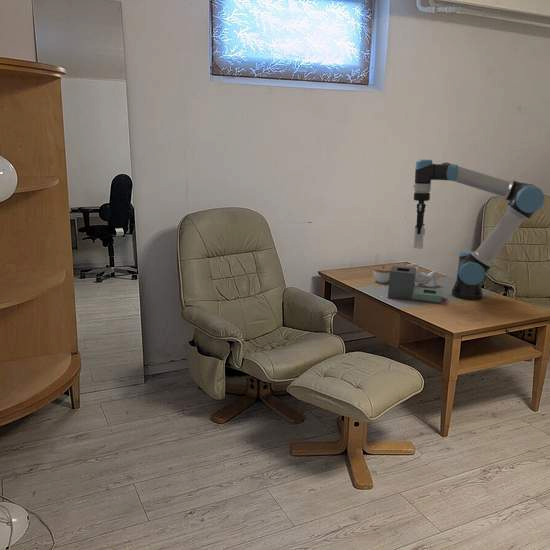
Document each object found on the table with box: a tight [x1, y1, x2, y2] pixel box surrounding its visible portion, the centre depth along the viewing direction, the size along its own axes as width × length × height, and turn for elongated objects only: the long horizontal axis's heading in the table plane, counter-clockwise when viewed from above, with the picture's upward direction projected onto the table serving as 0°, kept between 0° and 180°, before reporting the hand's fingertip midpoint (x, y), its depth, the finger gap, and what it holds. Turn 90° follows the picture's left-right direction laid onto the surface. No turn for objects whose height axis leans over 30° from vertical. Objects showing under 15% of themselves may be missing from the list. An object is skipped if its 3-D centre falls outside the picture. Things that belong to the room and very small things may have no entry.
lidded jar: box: [372, 264, 392, 284], centre depth 302 cm, size 11×11×9 cm
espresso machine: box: [387, 265, 444, 305], centre depth 274 cm, size 26×12×14 cm, turn 71°
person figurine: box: [406, 262, 440, 287], centre depth 296 cm, size 13×13×18 cm
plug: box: [413, 224, 426, 249], centre depth 268 cm, size 5×4×11 cm
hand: (418, 239), depth 268 cm, fingers closed on plug, 4 cm apart
